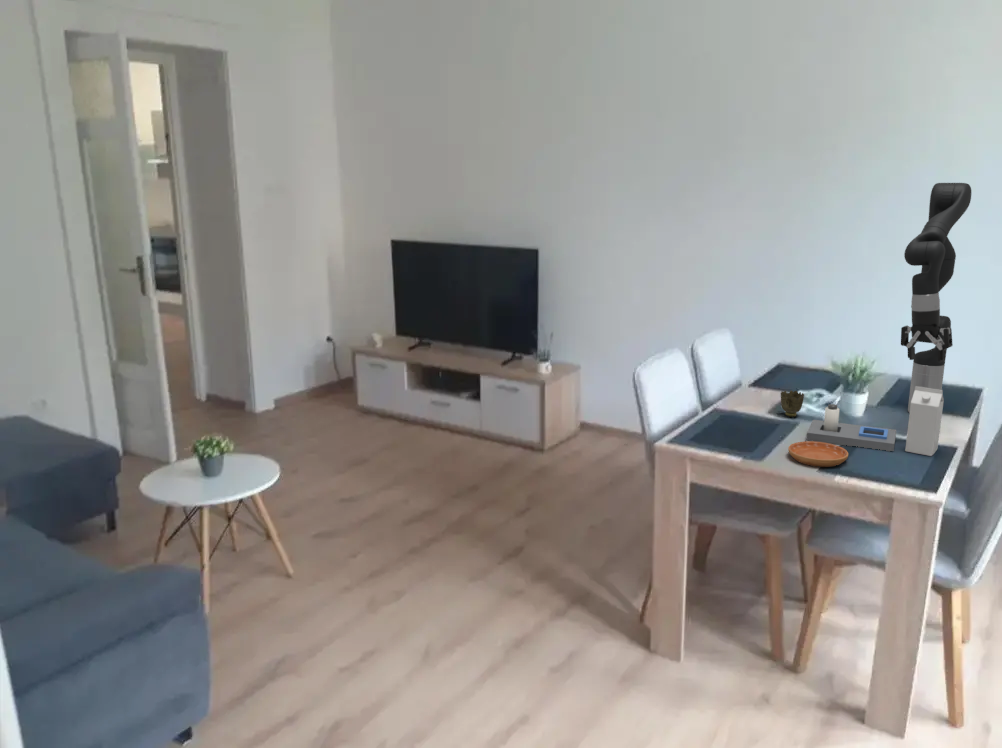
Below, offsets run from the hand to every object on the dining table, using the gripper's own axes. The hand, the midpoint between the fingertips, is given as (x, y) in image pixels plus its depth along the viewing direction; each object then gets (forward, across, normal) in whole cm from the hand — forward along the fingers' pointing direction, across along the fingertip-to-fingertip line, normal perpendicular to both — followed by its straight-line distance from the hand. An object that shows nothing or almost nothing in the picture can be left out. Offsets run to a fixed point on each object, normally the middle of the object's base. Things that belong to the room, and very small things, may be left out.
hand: (926, 360), depth 241 cm
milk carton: (+23, -6, +18) cm, 30 cm away
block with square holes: (+21, +12, +23) cm, 33 cm away
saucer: (+20, +9, +46) cm, 51 cm away
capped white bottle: (+20, +17, +26) cm, 37 cm away
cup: (+19, +37, +17) cm, 44 cm away
